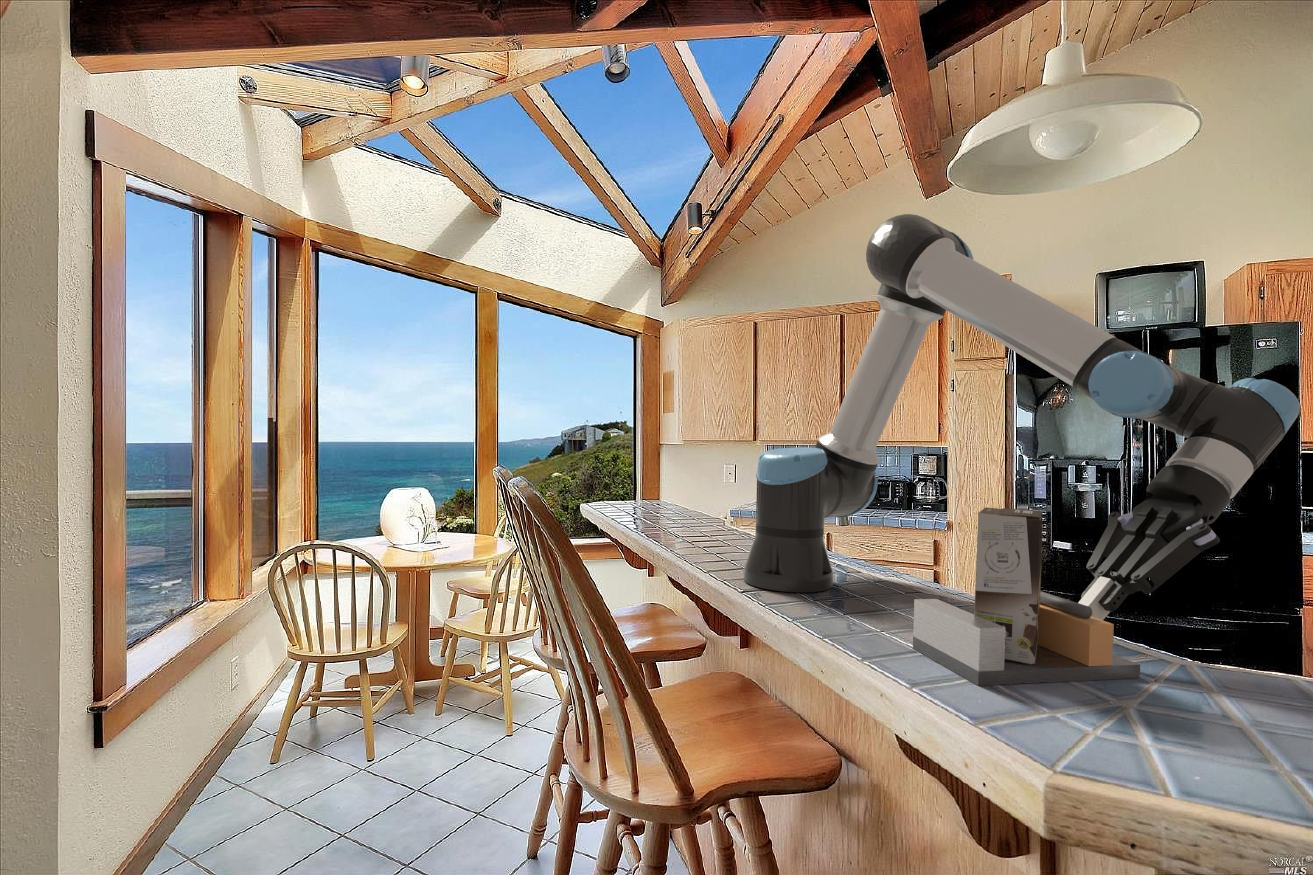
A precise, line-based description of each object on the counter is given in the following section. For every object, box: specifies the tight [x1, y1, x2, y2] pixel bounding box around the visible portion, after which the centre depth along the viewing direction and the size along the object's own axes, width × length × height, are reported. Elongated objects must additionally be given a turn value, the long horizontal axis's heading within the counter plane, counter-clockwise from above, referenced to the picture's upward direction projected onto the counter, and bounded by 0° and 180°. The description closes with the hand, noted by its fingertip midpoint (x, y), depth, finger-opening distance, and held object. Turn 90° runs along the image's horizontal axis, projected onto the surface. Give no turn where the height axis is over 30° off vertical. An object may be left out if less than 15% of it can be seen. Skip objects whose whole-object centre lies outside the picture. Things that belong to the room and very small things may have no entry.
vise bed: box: [912, 598, 1141, 687], centre depth 77 cm, size 12×20×6 cm, turn 101°
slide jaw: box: [1037, 590, 1115, 666], centre depth 78 cm, size 12×3×6 cm, turn 11°
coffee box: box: [973, 507, 1043, 664], centre depth 76 cm, size 9×6×16 cm
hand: (1078, 625), depth 78 cm, fingers closed
